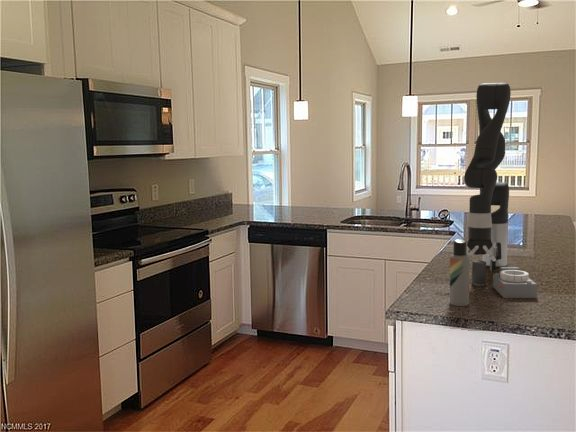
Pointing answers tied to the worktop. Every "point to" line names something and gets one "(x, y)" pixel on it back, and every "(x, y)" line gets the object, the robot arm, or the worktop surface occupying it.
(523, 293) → the camera body
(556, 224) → the worktop surface
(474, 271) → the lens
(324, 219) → the worktop surface
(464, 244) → the lotion bottle
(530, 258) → the worktop surface
